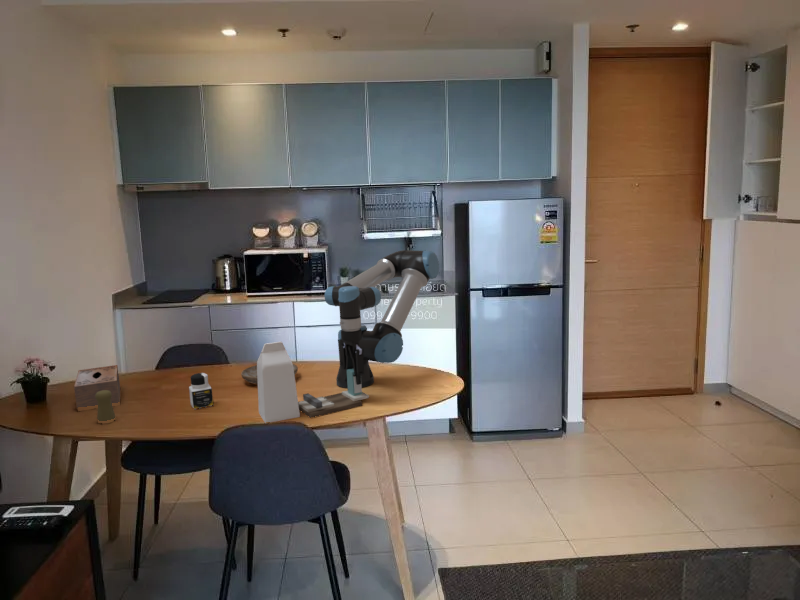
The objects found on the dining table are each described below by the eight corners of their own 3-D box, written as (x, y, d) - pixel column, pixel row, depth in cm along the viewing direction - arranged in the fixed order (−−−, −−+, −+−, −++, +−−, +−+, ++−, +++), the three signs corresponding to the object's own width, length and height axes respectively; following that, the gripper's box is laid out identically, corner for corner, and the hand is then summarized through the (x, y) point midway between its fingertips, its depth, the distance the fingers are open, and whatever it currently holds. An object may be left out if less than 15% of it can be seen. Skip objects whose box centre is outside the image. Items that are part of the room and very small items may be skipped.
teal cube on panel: (341, 394, 229) (340, 368, 227) (356, 391, 232) (354, 365, 230) (354, 401, 220) (352, 374, 219) (368, 397, 223) (367, 371, 222)
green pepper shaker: (101, 418, 219) (97, 389, 217) (118, 417, 219) (115, 387, 218) (94, 424, 213) (90, 394, 211) (112, 423, 213) (108, 393, 212)
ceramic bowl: (310, 376, 260) (309, 364, 260) (270, 392, 241) (269, 380, 240) (270, 370, 273) (269, 359, 272) (230, 384, 253) (229, 373, 252)
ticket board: (295, 407, 221) (294, 395, 221) (344, 395, 232) (343, 384, 231) (310, 418, 210) (309, 405, 209) (362, 405, 220) (361, 393, 219)
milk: (265, 423, 207) (258, 348, 203) (258, 413, 217) (252, 341, 213) (299, 416, 212) (294, 343, 207) (292, 407, 222) (286, 337, 218)
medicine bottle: (193, 409, 224) (190, 378, 222) (190, 404, 230) (187, 373, 228) (213, 406, 227) (210, 374, 225) (210, 400, 233) (206, 370, 231)
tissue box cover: (81, 393, 251) (78, 370, 249) (120, 387, 257) (117, 364, 255) (77, 412, 228) (74, 386, 226) (119, 405, 233) (116, 380, 232)
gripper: (331, 326, 227) (335, 387, 231) (352, 334, 213) (356, 398, 216) (349, 323, 231) (352, 383, 235) (371, 331, 216) (375, 394, 220)
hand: (354, 390), depth 226 cm, fingers closed on teal cube on panel, 4 cm apart
